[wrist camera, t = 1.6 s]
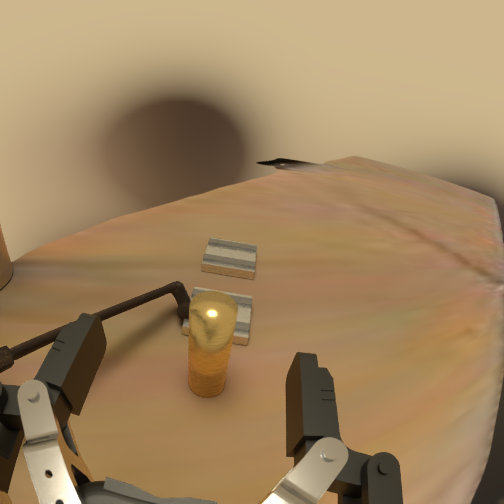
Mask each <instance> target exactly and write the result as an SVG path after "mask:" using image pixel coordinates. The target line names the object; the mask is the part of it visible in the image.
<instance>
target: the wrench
mask: <svg viewBox="0 0 504 504" xmlns="http://www.w3.org/2000/svg"><path fill="white" fill-rule="evenodd" d="M168 293H172V294H173V296H174V297H175V299H176V301H177V303H178V309H177V312H178V315H179V317H180V318H181V319H182V320H184V319H189V307H190V302H191V300H190V298H189V296H188V294H187V292H186V290H185V287H184V285H183V284H182V283H181V282H179V281H176V282H172V283H170V284H168V285H166V286H164V287H161V288H159V289H156V290H153V291H151V292H148V293H145V294H143V295H140V296H138V297H135V298H133V299H130V300H128V301H125V302H123V303H120V304H117V305H115V306H112V307H110V308H107V309H105V310H102V311H100V312H97V313H95V314H92V315H94V316H98V317H100V319H101V321H103V320H106V319H108V318H110V317H113V316H115V315H118V314H120V313H122V312H125V311H127V310H130V309H132V308H135V307H137V306H139V305H142V304H144V303H146V302H149V301H151V300H154V299H156V298H159V297H161V296H163V295H165V294H168ZM76 322H77V321H74V322H72V323H76ZM67 325H68V324H67ZM65 326H66V325H64V326H62V327H59V328H57V329H54V330H52V331H49V332H47V333H45V334H42V335H40V336H38V337H35V338H33V339H31V340H28V341H26V342H24V343H21V344H19V345H17V346H15V347H13V348H11V349H9V348H8V347H7V346H3V347H1V348H0V373H1V372H3V371H5V370H7V369H9V368H10V367H12V366H13V364H14V360H17V359H19V358H21V357H23V356H25V355H27V354H29V353H31V352H33V351H35V350H37V349H40V348H42V347H44V346H46V345H48V344H50V343H52V342H55V341H56V338H57V336H58V335H59V333H60V331H61V330H62V329H63V328H64V327H65Z"/></svg>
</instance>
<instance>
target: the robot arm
mask: <svg viewBox="0 0 504 504" xmlns="http://www.w3.org/2000/svg"><path fill="white" fill-rule="evenodd" d="M12 273H13V267H12V264H11V261H10V258H9V254H8V251H7V248H6V244H5V241H4V237H3V233H2V229H1V225H0V289H1V288H3V287H4V286H5V285H6V284H7V283H8V281H9V280H10V278H11V276H12ZM105 351H106V337H105V333H104V330H103V326H102V322H101V319H100V317H98V316H94V315H90V314H86V313H82V314H81V315H80V316H79V318H78V320H77V322H76V323H72V322H70V323H69V324H68V325H66V326H65V327H64V328H63V329H62V330H61V331H60V333H59V335H58V336H57V338H56V341H55V342H54V343H53V345H52V348H51V349H50V351H49V352H48V354H47V356H46V358H45V360H44V362H43V363H42V365H41V367H40V369H39V371H38V373H37V375H36V376H35V378H34V379H33V380H28V381H26V382H24V383H23V384H22V385H21V386H15V385H3V384H2V383H1V382H0V504H12V502H11V499H10V497H9V496H8V495H7V494H8V490H9V486H10V482H11V478H12V474H13V471H14V467H15V463H16V460H17V457H18V453H19V450H20V447H21V444H22V441H23V438H24V435H25V437H26V443H24V445H23V451H24V455H25V459H26V462H27V466H28V469H29V472H30V476H31V479H32V482H33V485H34V488H35V491H36V494H37V497H38V499H39V502H40V504H217V502H216V501H209V500H202V499H195V498H189V497H188V498H158V497H155V496H153V495H151V494H149V493H147V492H145V491H143V490H141V489H139V488H137V487H135V486H133V485H131V484H128V483H124V482H121V481H118V480H114V479H111V478H108V477H106V479H105V481H94V480H93V478H92V476H91V473H90V471H89V469H88V468H87V466H86V464H85V463H84V461H83V459H82V457H81V454H80V452H79V449H78V446H77V444H76V441H75V438H74V435H73V432H72V429H71V426H70V423H69V420H68V419H69V416H70V414H71V413H73V414H75V415H78V416H79V415H80V412H81V409H82V407H83V404H84V402H85V399H86V397H87V394H88V392H89V389H90V387H91V384H92V382H93V380H94V377H95V375H96V372H97V370H98V368H99V365H100V363H101V361H102V358H103V356H104V354H105ZM335 400H336V398H335V393H334V383H333V378H332V376H331V375H330V373H329V371H328V369H327V368H320V367H318V361H317V355H316V354H312V353H301V352H297V353H296V355H295V358H294V360H293V362H292V365H291V367H290V369H289V371H288V374H287V378H286V457H294V466H293V467H292V468H291V469H290V470H289V472H288V473H287V474H286V475H285V476H284V477H283V478H282V479H281V480H280V482H279V483H278V484H277V485H276V486H275V487H274V488H273V489H272V490H271V491H270V492H269V493H268V494H267V495H266V496H265V497H264V498H263V499H262V500H261V501H260V502H259V503H258V504H316V503H317V502H318V500H319V499H320V498H321V497H322V495H323V494H324V493H325V491H330V492H333V493H337V494H338V504H403V497H402V484H401V474H400V465H399V462H398V460H397V459H396V458H395V457H394V456H393V455H392V454H390V453H386V452H380V453H377V454H375V455H374V456H370V455H367V454H363V453H359V452H356V451H353V450H351V449H349V448H348V447H347V446H346V445H345V444H344V443H343V441H342V440H341V437H340V432H339V423H338V415H337V406H336V402H335Z"/></svg>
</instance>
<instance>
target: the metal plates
mask: <svg viewBox="0 0 504 504" xmlns="http://www.w3.org/2000/svg"><path fill="white" fill-rule="evenodd" d="M256 250H257V245H253V244H247V243H241V242H235V241H229V240H223V239H217V238H211V237H210V239H209V242H208V246H207V249H206V252H205V254H204V257H203V262H202V270H201V271H205V272H210V273H216V274H222V275H228V276H234V277H240V278H246V279H252V280H253V276H254V271H255V260H256ZM204 291H217V290H211V289H205V288H200V287H194V288H193V291H192V296H191V300H192V298H193V297H194V296H195V295H197V294H199V293H201V292H204ZM219 292H223V291H219ZM223 293H225V294H227V295H229V296H230V297H232V298H233V299H234V300H235V302H236V303H237V306H238V314H237V319H236V325H235V330H234V335H233V341H232V343H234V344H241V345H247V341H248V336H249V329H250V314H251V305H252V296H247V295H241V294H235V293H229V292H223ZM182 334H183V335H188V336H189V319H184V323H183V326H182Z"/></svg>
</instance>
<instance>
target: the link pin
mask: <svg viewBox="0 0 504 504" xmlns="http://www.w3.org/2000/svg"><path fill="white" fill-rule="evenodd" d="M237 314H238V306H237V303H236V302H235V300H234V299H233V298H232V297H230V296H229V295H227V294H225V293H223V292H219V291H204V292H201V293H199V294H197V295H195V296H194V297H193V298H192V300H191V302H190V307H189V348H188V384H189V387H190V389H191V390H192V391H193V392H194V393H195V394H196V395H198V396H201V397H206V398H209V397H214V396H216V395H218V394H220V393H221V392H222V390H223V388H224V385H225V379H226V374H227V368H228V363H229V357H230V352H231V346H232V341H233V335H234V330H235V325H236V319H237Z"/></svg>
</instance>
